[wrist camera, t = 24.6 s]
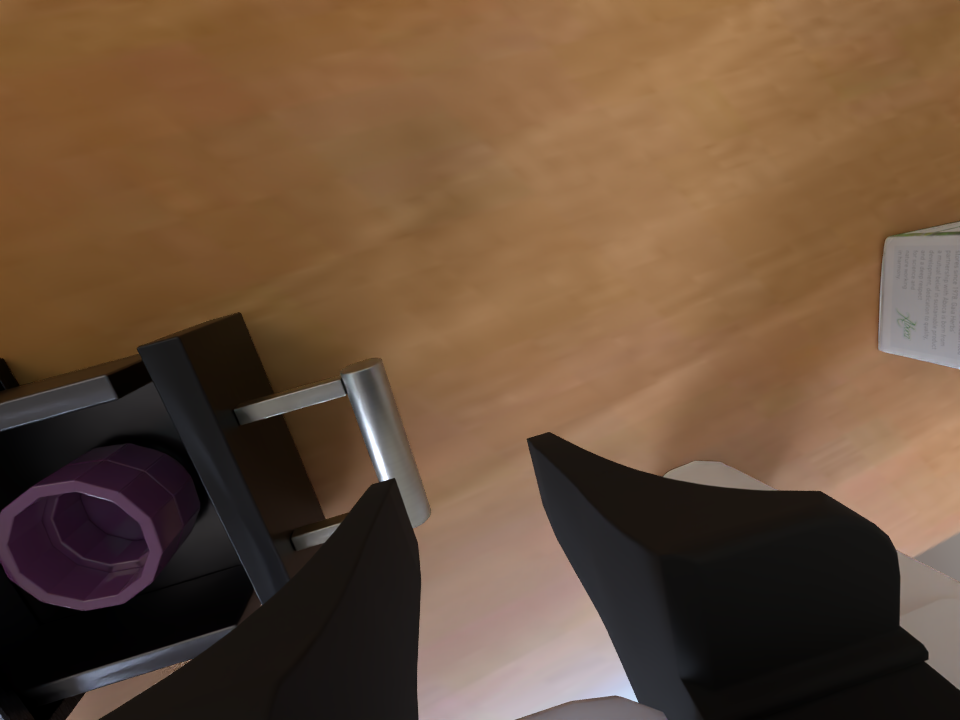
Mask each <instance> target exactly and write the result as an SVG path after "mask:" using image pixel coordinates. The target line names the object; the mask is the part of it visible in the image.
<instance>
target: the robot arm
mask: <svg viewBox="0 0 960 720" xmlns="http://www.w3.org/2000/svg"><path fill="white" fill-rule="evenodd" d="M527 442H528V446H529V450H530V454H531V458H532V462H533V467H534V471H535V475H536V479H537V483H538V487H539V491H540V495H541V499H542V503H543V506H544V509H545V511H546V514H547V516H548V519H549V521H550V524H551V526H552V529H553V531H554V533H555V536H556V538H557V540H558V542H559V544H560V545H561V547H562V549H563V551H564V553H565V554H566V556H567V558H568V560H569V562H570V563H571V565H572V567H573V569H574V570H575V572H576V574H577V576H578V578H579V579H580V581H581V583H582V585H583V586H584V588H585V590H586V592H587V593H588V595H589V597H590V599H591V601H592V602H593V604H594V606H595V608H596V609H597V611H598V613H599V615H600V617H601V619H602V621H603V623H604V625H605V627H606V629H607V631H608V634H609V636H610V638H611V640H612V643H613V645H614V647H615V649H616V652H617V654H618V656H619V658H620V661H621V663H622V665H623V668H624V670H625V672H626V674H627V677H628V679H629V681H630V684H631V686H632V688H633V691H634V693H635V695H636V698H637V700H638V702H639V703H637V702H634V701H632V700H629V699H626V698H623V697H619V696H608V697H600V698H592V699H584V700H576V701H570V702H567V703H564V704H561V705H558V706H555V707H552V708H549V709H546V710H543V711H540V712H537V713H534V714H531V715H528V716H525V717H522V718H519V719H516V720H960V690H959V689H958V688H956V687H955V686H954V685H953V684H952V683H950V682H949V681H948V680H947V679H946V678H944V677H943V676H942V675H941V674H939V673H938V672H937V671H936V670H935V669H933V668H932V667H931V666H930V665H929V664H927V663H926V662H925V661H926V660H928V659H929V652H928V650H927V649H926V647H925V646H924V645H923V644H922V643H921V642H920V641H918V640H917V639H916V638H915V637H913V636H912V635H911V634H910V633H908V632H907V631H906V630H905V629H903V628H902V627H901V626H900V578H901V576H900V569H899V561H898V554H897V551H896V549H895V547H894V545H893V543H892V542H891V540H890V538H889V536H888V535H887V534H885V533H884V532H883V531H882V530H881V529H880V528H879V527H877V526H876V525H875V524H874V523H872V522H870V521H869V520H867V519H866V518H864V517H862V516H861V515H859V514H857V513H856V512H854V511H853V510H851V509H849V508H848V507H846V506H844V505H843V504H841V503H840V502H838V501H836V500H835V499H833V498H831V497H830V496H828V495H826V494H825V493H823V492H821V491H774V490H751V489H739V488H727V487H718V486H710V485H703V484H697V483H691V482H686V481H680V480H675V479H670V478H665V477H661V476H657V475H654V474H650V473H646V472H643V471H639V470H636V469H633V468H629V467H626V466H624V465H621V464H618V463H616V462H613V461H610V460H608V459H605V458H603V457H600V456H598V455H596V454H593V453H591V452H589V451H587V450H585V449H582V448H580V447H578V446H576V445H574V444H572V443H570V442H568V441H566V440H564V439H562V438H560V437H558V436H556V435H554V434H552V433H550V432H548V433H544V434H541V435H537V436H534V437H531V438H527ZM420 595H421V572H420V560H419V549H418V542H417V539H416V537H415V534H414V531H413V528H412V525H411V522H410V519H409V516H408V514H407V511H406V508H405V505H404V502H403V499H402V496H401V493H400V491H399V488H398V485H397V482H396V479H395V478H392V479H389V480H385V481H382V482H379V483H375V484H372V485H371V486H370V487H369V488H368V489H367V490H366V492H365V493H364V494H363V495H362V497H361V498H360V499H359V501H358V502H357V503H356V504H355V506H354V507H353V508H352V510H351V511H350V512H349V513H348V515H347V516H346V517H345V519H344V520H343V521H342V522H341V524H340V525H339V526H338V527H337V529H336V530H335V531H334V532H333V534H332V535H331V536H330V537H329V538H328V539H327V540H326V542H325V543H324V544H323V545H322V546H321V547H320V548H319V550H318V551H317V552H316V553H315V554H314V555H313V557H312V558H311V559H310V560H309V561H308V562H307V563H306V564H305V565H304V566H303V567H302V568H301V569H300V570H299V571H298V572H297V573H296V575H295V576H293V577H292V578H291V579H290V580H289V581H288V582H287V583H286V584H285V585H284V586H283V587H282V588H281V589H280V590H279V591H278V592H277V593H276V594H275V595H273V596H272V597H271V598H270V599H269V600H268V601H267V602H265V603H264V604H263V605H262V606H261V607H259V608H258V609H257V610H256V611H255V612H253V613H252V614H251V615H250V616H249V617H247V618H246V619H245V620H244V621H243V622H241V623H240V624H239V625H238V626H237V627H235V628H234V629H233V630H232V631H230V632H229V633H228V634H227V635H225V636H224V637H223V638H221V639H220V640H218V641H217V642H216V643H214V644H213V645H212V646H210V647H209V648H208V649H206V650H205V651H204V652H202V653H201V654H199V655H198V656H197V657H195V658H194V659H192V660H191V661H189V662H188V663H187V664H185V665H184V666H182V667H181V668H179V669H178V670H176V671H175V672H173V673H172V674H171V675H169V676H168V677H166V678H165V679H163V680H161V681H160V682H158V683H157V684H155V685H153V686H152V687H150V688H149V689H147V690H145V691H144V692H142V693H141V694H139V695H137V696H136V697H134V698H133V699H131V700H130V701H128V702H126V703H125V704H123V705H122V706H120V707H118V708H117V709H115V710H114V711H112V712H110V713H109V714H107V715H105V716H104V717H102V718H100V719H99V720H418V700H417V661H418V640H419V619H420Z"/></svg>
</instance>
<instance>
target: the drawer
mask: <svg viewBox="0 0 960 720" xmlns="http://www.w3.org/2000/svg"><path fill="white" fill-rule="evenodd" d="M137 350H138V352H139V354H136V355H132V356H129V357H125V358H121V359H117V360H114V361H110V362H106V363H103V364H99V365H95V366H91V367H88V368H84V369H80V370H77V371H73V372H69V373H65V374H62V375H58V376H54V377H51V378H47V379H43V380H39V381H36V382H32V383H28V384H25V385H21V386H17V387H13V388H10V389H6V390H2V391H0V512H1V510H2V509H3V508H5V507H6V506H7V505H8V504H10V503H11V502H12V501H14V500H15V499H16V498H17V497H19V496H20V495H21V494H22V493H24V492H25V491H26V490H28V489H29V488H30V487H32V486H33V485H35V484H36V483H38V482H40V481H41V480H43V479H44V478H46V477H48V476H49V475H51V474H52V473H54V472H56V471H57V470H59V469H60V468H62V467H64V466H65V465H67V464H68V463H70V462H72V461H73V460H75V459H76V458H78V457H80V456H81V455H83V454H84V453H86V452H87V451H89V450H91V449H94V448H99V447H105V446H112V445H119V444H126V443H129V444H130V443H132V444H136V445H139V446H142V447H148V448H153V449H156V450H159V451H162V452H164V453H166V454H168V455H169V456H171V457H173V458H174V459H176V460H177V461H178V462H179V463H181V465H182V466H183V467H184V468H185V469H186V470H187V471H188V473H189V474H190V475H191V477H192V479H193V482H194V484H195V488H196V492H197V495H198V498H199V501H200V510H199V513H198V516H197V519H196V522H195V525H194V528H193V531H192V532H191V534H190V535H189V536H188V538H187V539H186V540H185V541H184V543H183V544H182V545H181V547H180V548H179V549H178V550H177V552H176V553H175V554H174V556H173V557H172V558H171V559H170V561H169V562H168V563H167V565H166V566H165V567H164V568H163V570H162V571H161V572H160V573H159V575H158V576H157V577H156V579H155V580H154V581H153V582H152V583H151V584H150V585H149V586H147V587H146V588H145V589H143V590H142V591H141V592H139V593H138V594H137V595H135V596H134V597H133V598H131V599H130V600H129V601H127V602H126V603H124V604H121V605H116V606H110V607H105V608H99V609H93V610H88V611H80V610H76V609H71V608H66V607H62V606H57V605H52V604H48V603H43V602H41V601H39V600H38V599H36V598H35V597H34V596H32V595H31V594H29V593H28V592H26V591H25V590H24V589H22V588H21V587H19V586H18V585H17V584H15V583H14V582H12V581H11V580H10V579H9V578H8V577H7V576H6V573H5V571H4V569H3V567H2V565H1V563H0V672H1V673H2V675H3V676H4V678H5V679H6V680H7V682H8V683H9V684H10V686H11V687H12V688H13V690H14V691H15V693H16V694H17V695H18V697H19V698H20V699H21V701H22V702H23V703H24V705H25V706H26V707H27V709H28V710H30V709H33V708H36V707H39V706H42V705H46V704H49V703H52V702H55V701H58V700H62V699H65V698H68V697H71V696H74V695H78V694H81V693H84V692H87V691H91V690H94V689H97V688H100V687H103V686H107V685H110V684H113V683H116V682H119V681H123V680H126V679H129V678H132V677H135V676H139V675H142V674H145V673H148V672H151V671H155V670H158V669H161V668H164V667H167V666H171V665H174V664H177V663H180V662H183V661H187V660H190V659H193V658H195V657H197V656H198V655H199V654H201V653H202V652H204V651H205V650H206V649H208V648H209V647H210V646H212V645H213V644H214V643H216V642H217V641H218V640H220V639H221V638H223V637H224V636H225V635H227V634H228V633H229V632H230V631H232V630H233V629H234V628H235V627H237V626H238V625H239V624H240V623H241V622H243V621H244V620H245V619H246V618H247V617H249V616H250V615H251V614H252V613H253V612H255V611H256V610H257V609H258V608H259V607H260V605H261V604H262V605H263V604H264V603H265V602H267V601H268V600H269V599H270V598H271V597H272V596H273V595H275V594H276V593H277V592H278V591H279V590H280V589H281V588H282V587H283V586H284V585H285V584H286V583H287V582H288V581H289V580H290V579H291V578H292V577H293V576H295V575H296V573H297V572H298V571H299V570H300V569H301V568H302V567H303V566H304V565H305V564H306V563H307V562H308V561H309V560H310V559H311V558H312V557H313V555H314V554H315V553H316V552H317V551H318V550H319V548H320V547H321V546H322V545H323V544H324V543H325V542H326V540H327V539H328V538H329V537H330V536H331V535H332V534H333V532H334V531H335V530H336V529H337V527H338V526H339V525H340V524H341V522H342V521H343V520H344V519H345V517H346V516H347V515H348V513H345V514H342V515H339V516H335V517H332V518H329V519H325V517H324V514H323V512H322V509H321V507H320V504H319V502H318V500H317V497H316V495H315V492H314V490H313V487H312V485H311V483H310V480H309V478H308V475H307V473H306V470H305V468H304V465H303V463H302V461H301V458H300V456H299V453H298V451H297V448H296V446H295V444H294V441H293V439H292V436H291V434H290V431H289V429H288V426H287V424H286V422H285V419H284V417H283V413H287V412H290V411H294V410H297V409H301V408H304V407H308V406H311V405H315V404H319V403H322V402H326V401H329V400H333V399H336V398H340V397H343V396H346V394H348V397H349V400H350V403H351V406H352V408H353V411H354V414H355V417H356V419H357V422H358V425H359V428H360V430H361V433H362V436H363V439H364V442H365V444H366V447H367V450H368V453H369V455H370V458H371V461H372V464H373V467H374V469H375V472H376V475H377V478H378V480H379V482H382V481H385V480H389V479H392V478H395V479H396V482H397V485H398V488H399V491H400V493H401V496H402V499H403V502H404V505H405V508H406V511H407V514H408V516H409V519H410V522H411V525H412V528H415V527H417V526H419V525H421V524H423V523H424V522H425V521H426V520H427V519H428V518H429V517H430V515H431V508H430V505H429V502H428V499H427V495H426V492H425V489H424V486H423V483H422V480H421V477H420V474H419V471H418V468H417V465H416V462H415V459H414V456H413V453H412V450H411V447H410V444H409V441H408V438H407V435H406V432H405V429H404V426H403V423H402V420H401V417H400V414H399V411H398V407H397V404H396V401H395V398H394V395H393V392H392V389H391V386H390V383H389V380H388V377H387V374H386V371H385V368H384V365H383V362H382V359H380V358H370V359H366V360H362V361H359V362H356V363H353V364H351V365H349V366H347V367H345V368H343V369H342V370H341V371H340V375H339V376H336V377H332V378H329V379H325V380H321V381H318V382H314V383H311V384H307V385H303V386H300V387H296V388H293V389H289V390H286V391H282V392H278V393H275V394H274V392H273V390H272V387H271V385H270V383H269V380H268V378H267V375H266V373H265V370H264V368H263V366H262V363H261V361H260V358H259V356H258V353H257V351H256V348H255V346H254V344H253V341H252V339H251V336H250V334H249V331H248V329H247V327H246V324H245V322H244V319H243V317H242V314H241V313H239V312H238V313H234V314H231V315H227V316H223V317H220V318H216V319H212V320H209V321H206V322H203V323H201V324H198V325H195V326H193V327H190V328H187V329H184V330H182V331H179V332H176V333H174V334H171V335H168V336H165V337H163V338H160V339H157V340H155V341H152V342H149V343H146V344H144V345H141V346H139V347H137Z"/></svg>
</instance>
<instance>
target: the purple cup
mask: <svg viewBox="0 0 960 720" xmlns="http://www.w3.org/2000/svg"><path fill="white" fill-rule="evenodd" d="M199 510H200V501H199V498H198V495H197V492H196V488H195V484H194V482H193V479H192V477H191V475H190V474H189V473H188V471H187V470H186V469H185V468H184V467H183V466H182V465H181V463H179V462H178V461H177V460H176V459H174V458H173V457H171V456H169V455H168V454H166V453H164V452H162V451H159V450H156V449H153V448H148V447H142V446H139V445H136V444H132V443H130V444H129V443H126V444H119V445H112V446H105V447H99V448H94V449H91V450H89V451H87V452H86V453H84V454H83V455H81V456H80V457H78V458H76V459H75V460H73V461H72V462H70V463H68V464H67V465H65V466H64V467H62V468H60V469H59V470H57V471H56V472H54V473H52V474H51V475H49V476H48V477H46V478H44V479H43V480H41V481H40V482H38V483H36V484H35V485H33V486H32V487H30V488H29V489H28V490H26V491H25V492H24V493H22V494H21V495H20V496H19V497H17V498H16V499H15V500H14V501H12V502H11V503H10V504H8V505H7V506H6V507H5V508H3V509H2V510H1V512H0V563H1V565H2V567H3V569H4V571H5V573H6V576H7V577H8V578H9V579H10V580H11V581H12V582H14V583H15V584H17V585H18V586H19V587H21V588H22V589H24V590H25V591H26V592H28V593H29V594H31V595H32V596H34V597H35V598H36V599H38V600H39V601H41V602H43V603H48V604H52V605H57V606H62V607H66V608H71V609H76V610H80V611H88V610H93V609H99V608H105V607H110V606H116V605H121V604H124V603H126V602H127V601H129V600H130V599H131V598H133V597H134V596H135V595H137V594H138V593H139V592H141V591H142V590H143V589H145V588H146V587H147V586H149V585H150V584H151V583H152V582H153V581H154V580H155V579H156V577H157V576H158V575H159V573H160V572H161V571H162V570H163V568H164V567H165V566H166V565H167V563H168V562H169V561H170V559H171V558H172V557H173V556H174V554H175V553H176V552H177V550H178V549H179V548H180V547H181V545H182V544H183V543H184V541H185V540H186V539H187V538H188V536H189V535H190V534H191V532H192V531H193V528H194V525H195V522H196V519H197V516H198V513H199Z"/></svg>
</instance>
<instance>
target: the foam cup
mask: <svg viewBox="0 0 960 720" xmlns="http://www.w3.org/2000/svg"><path fill="white" fill-rule="evenodd" d="M663 477H665V478H670V479H675V480H680V481H686V482H691V483H697V484H703V485H710V486H718V487H727V488H739V489H751V490H774V491H779V490H777V489H775V488H773V487H771V486H769V485H767V484H765V483H763V482H761V481H759V480H757V479H755V478H753V477H751V476H749V475H747V474H745V473H743V472H741V471H739V470H737V469H735V468H733V467H731V466H727V465H725V464H724V463H722V462H717V461H693V462H690V463H688V464H685V465H683V466H681V467H678V468H676V469H673V470H671V471H668V472H667V473H666V474H665V475H664V476H663ZM896 551H897V550H896ZM897 554H898V561H899V569H900V576H901V578H900V626H901V627H902V628H903V629H905V630H906V631H907V632H908V633H910V634H911V635H912V636H913V637H915V638H916V639H917V640H918V641H920V642H921V643H922V644H923V645H924V646H925V647H926V649H927V650H928V652H929V659H928V660H926V661H925V662H926V663H927V664H929V665H930V666H931V667H932V668H933V669H935V670H936V671H937V672H938V673H939V674H941V675H942V676H943V677H944V678H946V679H947V680H948V681H949V682H950V683H952V684H953V685H954V686H955V687H956V688H958V689H959V690H960V582H959V581H957V580H955V579H953V578H951V577H949V576H947V575H945V574H943V573H941V572H939V571H937V570H935V569H933V568H931V567H929V566H927V565H925V564H923V563H921V562H919V561H917V560H915V559H913V558H911V557H909V556H907V555H905V554H903V553H901V552H899V551H897Z"/></svg>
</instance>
